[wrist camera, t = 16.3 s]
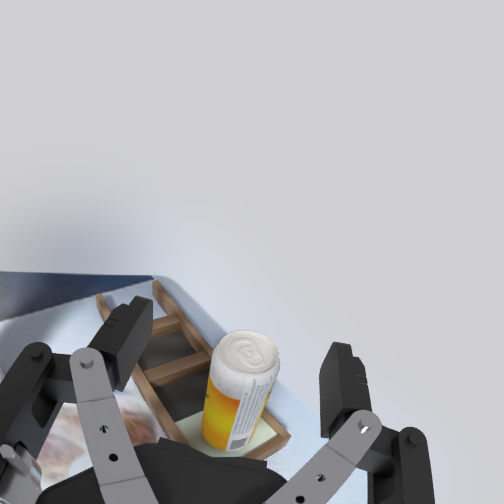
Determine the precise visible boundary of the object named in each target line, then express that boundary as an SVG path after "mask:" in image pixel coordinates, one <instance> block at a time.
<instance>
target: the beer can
mask: <svg viewBox="0 0 504 504" xmlns="http://www.w3.org/2000/svg"><path fill="white" fill-rule="evenodd" d="M279 369H280V361H279V354H278V350H277V348H276V346H275V344H274V343H273V342H272V341H271V340H270V339H269V338H267V337H266V336H264V335H262V334H260V333H257V332H254V331H248V330H238V331H233V332H230V333H228V334H226V335H225V336H224V337H223V338H222V339H221V340H220V342H219V343H218V344H217V345H216V346H215V348H214V350H213V353H212V359H211V365H210V372H209V378H208V384H207V391H206V397H205V404H204V410H203V417H202V424H201V432H202V435H203V437H204V439H205V440H206V441H207V442H208V443H209V444H210V445H211V446H213V447H214V448H217V449H219V450H223V451H235V450H239V449H241V448H243V447H245V446H246V445H247V444H248V443H249V442H250V440H251V438H252V436H253V433H254V431H255V429H256V426H257V424H258V422H259V419H260V417H261V414H262V412H263V410H264V407H265V405H266V402H267V400H268V397H269V395H270V392H271V390H272V387H273V385H274V382H275V380H276V377H277V375H278V372H279Z"/></svg>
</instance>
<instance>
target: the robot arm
mask: <svg viewBox="0 0 504 504" xmlns="http://www.w3.org/2000/svg"><path fill="white" fill-rule="evenodd" d="M152 329H153V301H152V300H151V299H147V298H143V297H140V296H135V297H134V298H133V300H132V301H131V303H130V304H129V305H126V304H121V305H120V306H118V307H116V308H115V309H113V311H112V312H111V314H110V315H109V316H108V318H107V319H106V321H105V322H104V325H102V326H101V328H100V329H99V331H98V332H97V333H96V335H95V336H94V338H93V339H92V341H91V342H90V344H89V345H88V346H87V348H81V349H78V350H76V351H75V352H74V353H73V354H72V355H66V354H56V353H52V351H51V348H50V347H49V346H48V345H47V344H45V343H42V342H34V343H31V344H29V345H27V346H26V347H25V348H24V349H23V351H22V352H21V354H20V355H19V357H18V358H17V359H16V361H15V362H14V364H13V365H12V367H11V368H10V370H9V371H8V373H7V374H6V376H5V375H4V373H3V371H2V369H1V367H0V503H2V504H326V503H327V502H328V501H329V500H330V499H331V498H332V496H333V495H334V494H335V493H336V492H337V491H338V489H339V488H340V487H341V486H342V485H343V483H344V482H345V481H346V480H347V479H348V477H349V476H350V475H351V474H352V472H353V471H354V470H355V468H359V469H362V470H365V471H367V476H368V504H435V498H434V489H433V481H432V473H431V466H430V459H429V452H428V446H427V440H426V437H425V435H424V434H423V433H422V432H421V431H420V430H419V429H417V428H414V427H406V428H404V429H402V430H401V431H400V432H398V431H395V430H392V429H389V428H387V427H385V426H383V425H382V424H381V421H380V419H379V418H378V417H377V416H376V415H375V414H374V413H372V408H371V401H370V395H369V389H368V385H367V378H366V372H365V367H364V365H363V363H362V362H361V360H360V359H359V357H353V355H352V349H351V345H350V344H345V343H339V342H333V343H332V345H331V347H330V349H329V351H328V353H327V356H326V357H325V359H324V362H323V364H322V366H321V369H320V374H319V384H320V421H321V438H329V441H328V443H327V444H325V445H324V446H323V447H322V448H321V449H320V450H319V451H318V452H317V453H316V454H315V455H314V456H313V457H312V458H311V459H310V460H309V461H308V462H307V463H306V464H305V465H304V466H303V467H302V468H301V469H300V470H299V471H298V472H297V473H296V474H295V475H294V476H293V477H292V478H291V479H290V480H289V481H287V480H286V479H285V478H283V477H282V476H281V475H279V474H278V473H276V472H275V471H273V470H271V469H268V468H266V467H267V461H263V460H257V459H251V458H245V457H211V456H209V455H207V454H204V453H202V452H200V451H198V450H196V449H194V448H192V447H190V446H188V445H186V444H183V443H179V442H176V441H172V440H169V439H165V438H162V437H160V439H159V441H158V443H145V444H139V445H135V446H132V443H131V441H130V438H129V435H128V433H127V430H126V427H125V424H124V422H123V419H122V416H121V413H120V410H119V407H118V404H117V401H116V398H115V396H114V394H113V392H114V390H118V391H121V392H123V390H124V388H125V386H126V384H127V382H128V380H129V378H130V376H131V374H132V372H133V370H134V368H135V366H136V364H137V362H138V360H139V358H140V356H141V354H142V352H143V350H144V348H145V347H146V345H147V343H148V341H149V339H150V336H151V333H152ZM64 402H66V403H75V404H77V409H78V414H79V418H80V422H81V426H82V430H83V434H84V437H85V441H86V444H87V448H88V451H89V455H90V458H91V461H92V464H93V467H91V468H89V469H87V470H85V471H83V472H80V473H78V474H76V475H74V476H72V477H70V478H68V479H66V480H63V481H61V482H59V483H57V484H54V485H52V486H50V487H48V488H46V489H45V490H44V491H43V492H42V490H41V486H40V481H41V476H42V472H41V468H40V466H39V464H38V463H37V462H36V459H37V457H38V455H39V453H40V450H41V448H42V446H43V444H44V442H45V440H46V437H47V435H48V433H49V431H50V429H51V427H52V425H53V423H54V421H55V419H56V417H57V415H58V413H59V411H60V409H61V407H62V405H63V403H64Z"/></svg>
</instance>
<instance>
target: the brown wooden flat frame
mask: <svg viewBox="0 0 504 504" xmlns="http://www.w3.org/2000/svg"><path fill="white" fill-rule="evenodd" d="M153 296H154V297H155V299H156V300H157V302H158V303H159V304H160V306H161V307H162V309H163V310H164V311H165V313H166V314H167V315H168V316H165V317H161V318H158V319H154V320H153V329H152V333H151V336H150V339H149V341H148V343H147V345H146V347H145V348H144V350H143V352H142V354H141V356H140V358H139V360H138V362H137V364H136V366H135V368H134V370H133V372H132V374H131V377H132V379H133V380H134V382H135V384H136V386H137V388H138V389H139V391H140V393H141V395H142V396H143V398H144V400H145V401H146V403H147V405H148V406H149V408H150V410H151V411H152V413H153V415H154V416H155V418H156V419H157V421H158V423H159V424H160V426H161V427H162V429H163V430H164V432H165V434H166V435H167V437H168V438H169V440H172V441H176V442H179V443H183V444H186V445H188V446H190V447H192V448H194V449H196V450H198V451H200V452H202V453H204V454H207V455H209V456H211V457H245V458H251V459H257V460H264V459H266V458H267V457H269V456H271V455H272V454H274V453H275V452H277V451H279V450H280V449H282V448H283V447H285V445H286V444H287V442H288V441H289V439H290V437H291V435H290V434H289V433H288V432H287V431H286V430H285V429H284V428H283V427H282V426H281V425H280V424H279V423H278V422H277V421H276V420H275V419H274V417H273V416H272V415H271V414H270V413H269V412H268V411H267V410H266V409H265V408H264V410H263V412H262V414H261V417H260V419H259V422H258V424H257V426H256V429H255V431H254V433H253V436H252V438H251V440H250V442H249V443H248V444H247V445H246V446H245V447H243V448H241V449H239V450H235V451H223V450H219V449H217V448H214V447H213V446H211V445H210V444H209V443H208V442H207V441H206V440H205V439H204V437H203V435H202V432H201V424H202V417H203V410H204V404H205V397H206V391H207V384H208V378H209V372H210V365H211V359H212V353H213V349H212V348H211V347H210V346H209V344H208V343H207V342H206V341H205V340H204V338H203V337H202V336H201V335H200V333H199V332H198V331H197V330H196V329H195V327H194V326H193V325H192V324H191V322H190V321H189V320H188V319H187V317H186V316H185V315H184V314H183V312H182V311H181V310H180V309H179V307H178V306H177V305H176V303H175V302H174V301H173V300H172V298H171V297H170V296H169V294H168V293H167V292H166V290H165V289H164V288H163V286H162V285H161V284H160V283H159V281H158V280H156V281H153ZM96 301H97V308H98V311H99V313H100V315H101V317H102V319H103V322H105V321H106V319H107V318H108V316H109V315H110V314H111V313H110V311H109V309H108V307H107V304H106V302H105V300H104V298H103V296H102V294H101V293H99V294H96Z"/></svg>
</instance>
